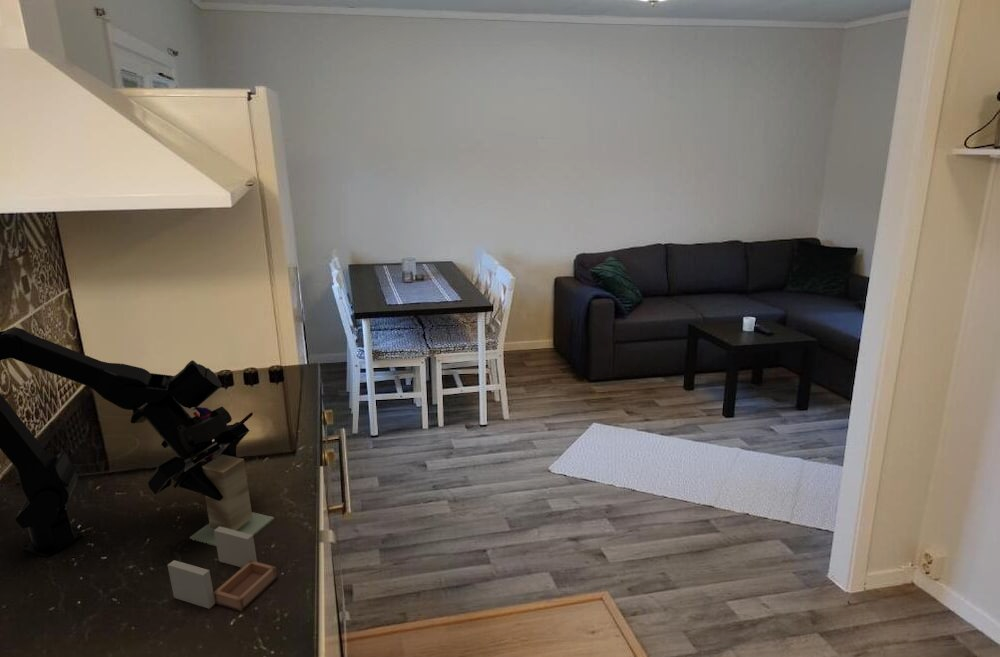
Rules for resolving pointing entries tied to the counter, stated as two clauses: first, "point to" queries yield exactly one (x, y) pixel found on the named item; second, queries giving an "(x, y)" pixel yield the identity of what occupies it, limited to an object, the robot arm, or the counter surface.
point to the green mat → (249, 527)
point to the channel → (197, 581)
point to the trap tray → (245, 585)
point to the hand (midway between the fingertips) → (232, 491)
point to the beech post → (228, 493)
